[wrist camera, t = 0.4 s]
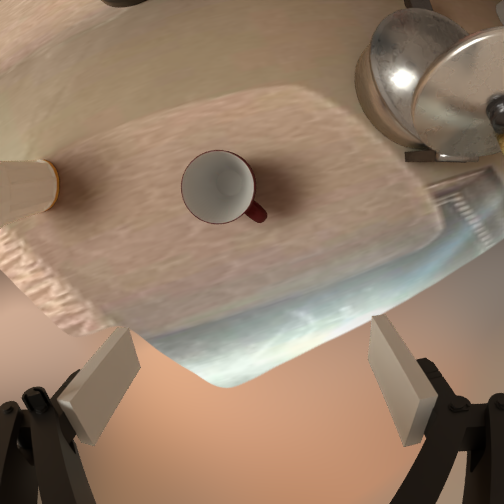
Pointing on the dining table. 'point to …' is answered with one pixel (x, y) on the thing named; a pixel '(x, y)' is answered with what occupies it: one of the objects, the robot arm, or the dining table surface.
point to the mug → (220, 188)
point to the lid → (463, 99)
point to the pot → (402, 70)
